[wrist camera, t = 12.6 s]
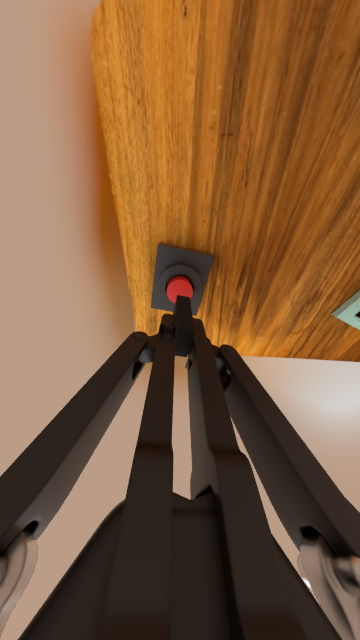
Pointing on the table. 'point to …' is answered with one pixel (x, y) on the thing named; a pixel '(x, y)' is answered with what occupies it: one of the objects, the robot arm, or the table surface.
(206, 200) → the table surface
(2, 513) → the robot arm
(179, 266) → the control block
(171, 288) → the button
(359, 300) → the bracket
